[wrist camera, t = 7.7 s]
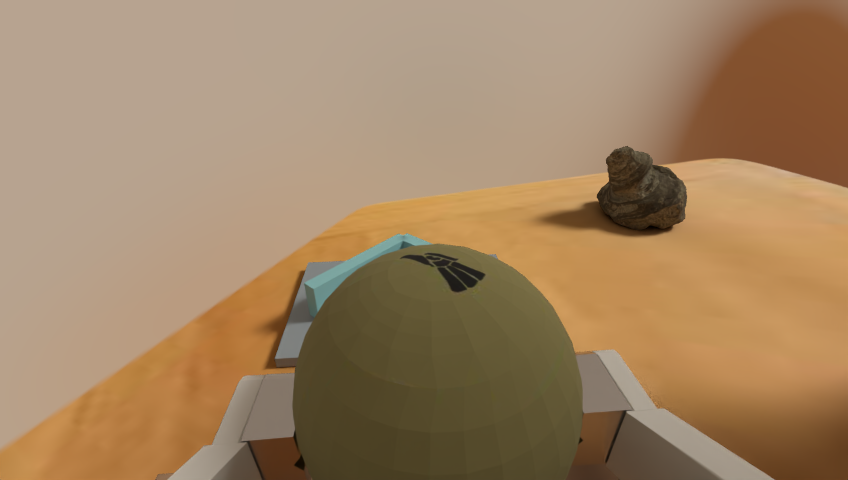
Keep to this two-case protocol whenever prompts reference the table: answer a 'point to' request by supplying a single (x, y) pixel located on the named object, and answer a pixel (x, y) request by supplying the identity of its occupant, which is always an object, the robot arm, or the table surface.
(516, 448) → the light bulb
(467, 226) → the table surface
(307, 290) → the V-block
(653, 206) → the seashell
